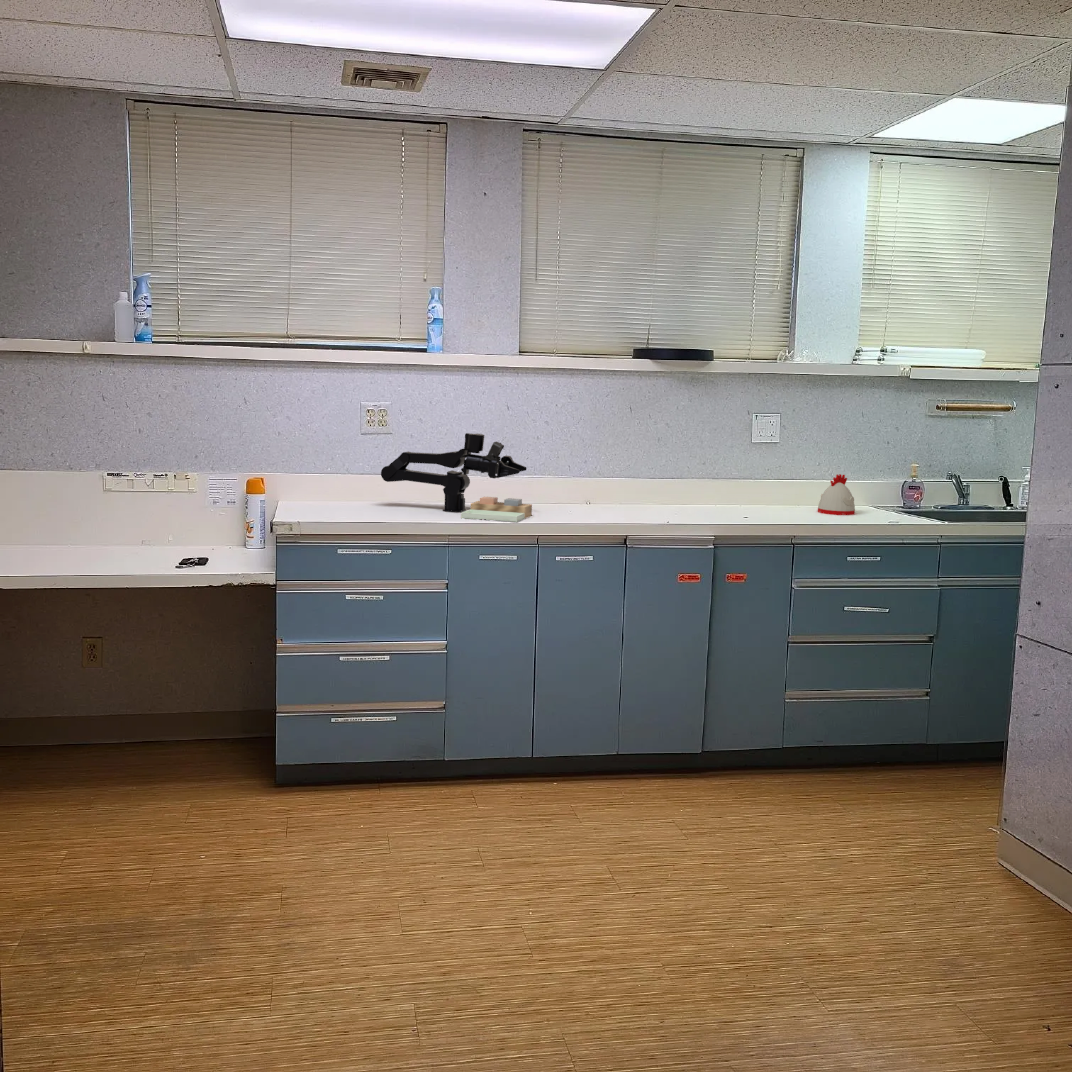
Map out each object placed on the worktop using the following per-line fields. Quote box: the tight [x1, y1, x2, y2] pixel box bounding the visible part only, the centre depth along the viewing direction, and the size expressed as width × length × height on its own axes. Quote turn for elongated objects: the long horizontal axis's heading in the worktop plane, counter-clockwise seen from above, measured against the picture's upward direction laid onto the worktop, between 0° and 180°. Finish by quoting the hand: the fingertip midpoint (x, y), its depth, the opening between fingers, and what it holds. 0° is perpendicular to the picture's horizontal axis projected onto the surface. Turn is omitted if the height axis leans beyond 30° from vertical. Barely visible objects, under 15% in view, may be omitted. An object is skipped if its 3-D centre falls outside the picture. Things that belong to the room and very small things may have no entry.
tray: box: [460, 508, 526, 523], centre depth 371 cm, size 20×10×2 cm, turn 75°
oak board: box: [470, 500, 533, 519], centre depth 380 cm, size 20×8×4 cm, turn 74°
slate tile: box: [503, 497, 523, 506], centre depth 378 cm, size 5×5×2 cm
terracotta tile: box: [479, 496, 499, 505], centre depth 380 cm, size 5×5×2 cm
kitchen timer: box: [817, 474, 856, 516], centre depth 416 cm, size 14×14×15 cm
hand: (522, 470), depth 379 cm, fingers open, 9 cm apart
